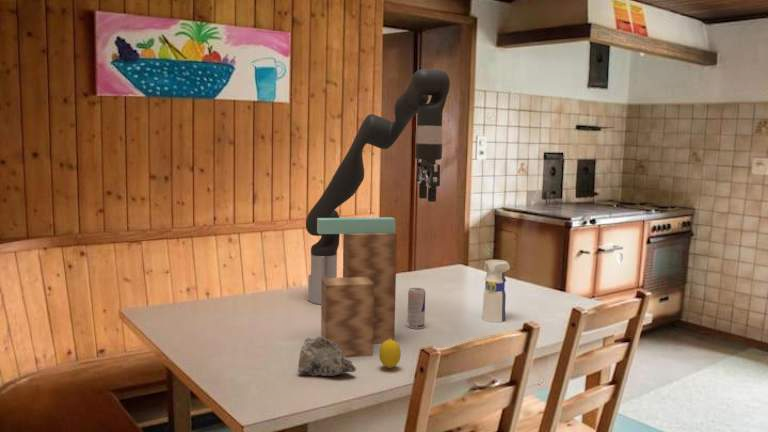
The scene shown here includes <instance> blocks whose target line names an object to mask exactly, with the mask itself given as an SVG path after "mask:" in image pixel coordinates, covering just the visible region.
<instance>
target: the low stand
mask: <svg viewBox="0 0 768 432" xmlns="http://www.w3.org/2000/svg"><path fill="white" fill-rule="evenodd" d="M320 305H321V311H320V312H321V313H320V315H321V318H320V322H321V323H320V325H321V327H320V337H321V336H323V337H325V338H326V339H328V340H330V341H332V342H333V343H335V344H336V345H337V346H338V347H339V348H340V350H341V351H342V354H343V356H345V357H346V358H351V357H365V356H367V357H368V356H370V357H371V356H373V355H374V354H373V353H374V344H373V317H374V283H373V282H372V281H371V280H370V279H369V278H368V277H343V276H342V277H337V278H322V294H321V304H320Z"/></svg>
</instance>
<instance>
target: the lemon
mask: <svg viewBox="0 0 768 432" xmlns="http://www.w3.org/2000/svg"><path fill="white" fill-rule="evenodd" d="M378 354H379V355H378V356H379V360H380V362H381V364H382V365H384V367H387V369H390V370H391V369H392V368H393V367H395V366H397V365H398V364H399V362H400V360H401V356H402V355H401V348H400V345H399V343H398V342H397V341H395V339H394V340H392V339H389V340H386V341H385V342H383V343H381V345H380V347H379V353H378Z"/></svg>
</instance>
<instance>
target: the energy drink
mask: <svg viewBox="0 0 768 432" xmlns="http://www.w3.org/2000/svg"><path fill="white" fill-rule="evenodd" d="M425 316H426V289H424V288H421V287H409V289H408V291H407V322H406V323H407V325H406V326H407V327H408V328H409V329H413V330H422V329H424V328H425V318H426V317H425Z"/></svg>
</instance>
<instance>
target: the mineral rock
mask: <svg viewBox="0 0 768 432" xmlns="http://www.w3.org/2000/svg"><path fill="white" fill-rule="evenodd" d="M297 365H298V368H297V371H298V374H299V375H308V376H309V375H311V376H313V377H314V376H323V377H326V376H328V377H330V376H338V375H344V374H347V373H354V372H356V371H357V367H355V365H354V364H353V362H352V361H351V360H350V359H348V357H345V356H343V354H342V351H341V350H340V348H339V347H338V346H337V345H336V344H335V343H333V342H332V341H330V340H328V339H326V338H325V337H323V336H321V335H320V336H317V337H315V338H311V337H307V338H305V339H304V341H303V344H302V346H301V349H300V351H299V359H298V364H297Z"/></svg>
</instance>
